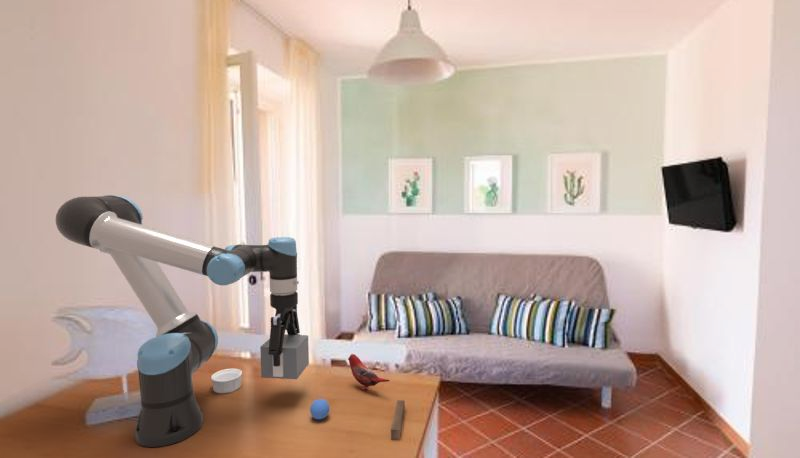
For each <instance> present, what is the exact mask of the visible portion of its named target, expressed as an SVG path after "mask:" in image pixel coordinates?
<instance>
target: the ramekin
mask: <svg viewBox="0 0 800 458" xmlns="http://www.w3.org/2000/svg"><path fill="white" fill-rule="evenodd" d="M242 376H243V371H242V370H241V369H239V368H226V369H221V370H218V371H216V372H214V373H213V374H212V375H211V376H210V378H211V379H210V380H211V384H212V389H213V391H214V392H215V393H217V394H229V393H233V392H235V391H237V390H238V389H239V388H240V387H242Z"/></svg>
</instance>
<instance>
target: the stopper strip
mask: <svg viewBox="0 0 800 458" xmlns="http://www.w3.org/2000/svg"><path fill="white" fill-rule="evenodd" d="M405 403H406V402H405V400H404V399H402V400H398V399H397V400H396V405H395V410H394V414H393V418H392V419H393V420H392V423H391V428H390V439H391V440H394V441H395V440H397V441H398V440H400V437H401V434H402V433H401V432H402V427H403V420H404V415H405V409H406V408H405V407H406V405H405Z"/></svg>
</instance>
